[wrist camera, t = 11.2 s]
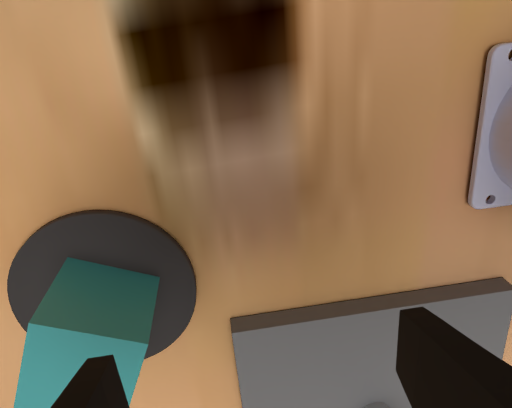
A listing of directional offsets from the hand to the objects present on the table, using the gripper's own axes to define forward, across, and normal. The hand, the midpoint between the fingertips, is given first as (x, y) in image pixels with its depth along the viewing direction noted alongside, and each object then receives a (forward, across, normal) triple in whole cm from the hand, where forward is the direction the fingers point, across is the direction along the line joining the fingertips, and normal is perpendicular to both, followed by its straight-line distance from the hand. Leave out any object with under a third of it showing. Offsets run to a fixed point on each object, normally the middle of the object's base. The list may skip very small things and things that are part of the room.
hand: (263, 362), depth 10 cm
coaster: (+10, +7, +4) cm, 13 cm away
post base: (+10, -7, +15) cm, 20 cm away
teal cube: (+10, +7, +4) cm, 13 cm away
